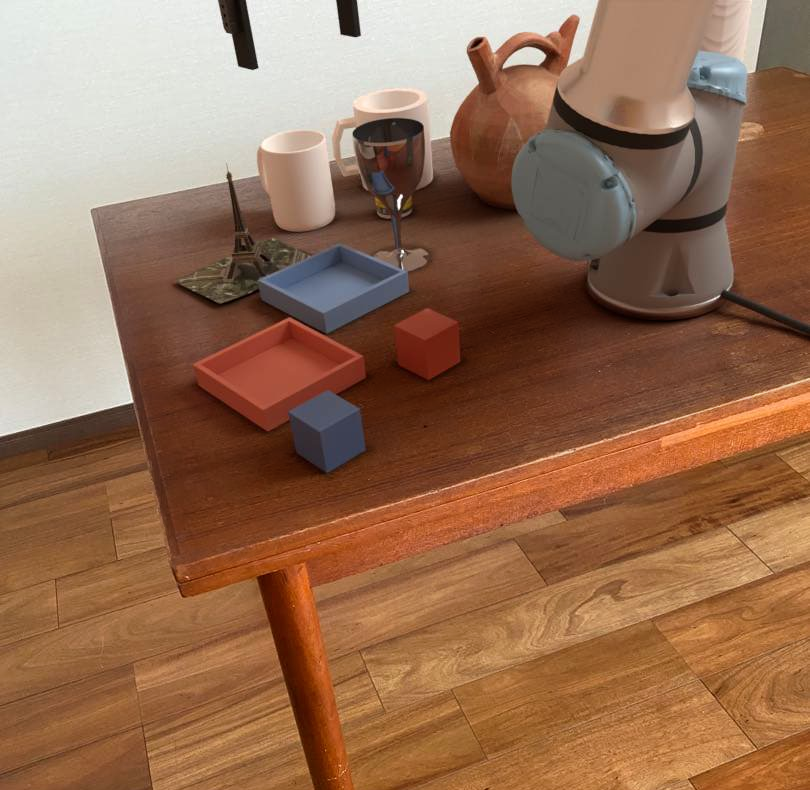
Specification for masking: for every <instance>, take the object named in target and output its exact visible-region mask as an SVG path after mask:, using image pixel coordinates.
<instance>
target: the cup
mask: <svg viewBox="0 0 810 790" xmlns="http://www.w3.org/2000/svg"><path fill="white" fill-rule="evenodd" d="M256 164H257V171H258V174H259V176H258V177H259V179H260V183H261V184H262V187H263V189H264V190H265V192H266V193H267V195H268V196H269V198H270V199H269V200H270V204H271V205H270V206H271V209H272V215H273V219H274V222H275V224H276V225H277V226H278V227H279V228H280V229H282V230H284V231H287V232H294V233H296V232H297V233H301V232H309V231H314V230H318V229H321V228H323V227H325V226H327V225H329V224H331V223H332V222H333V220H334V219H335V217H336V203H335V196H334V189H333V183H332V182H333V181H332V174H331V166H330V161H329V153H328V146H327V140H326V136H325V134H324V133H322V132H320V131H316V130H313V129H312V130H311V129H296V130H295V129H294V130H288V131H282V132H278V133H275V134H273V135H269V136H268V137H266V138H264V139H263V141H262V142H260V145H259V146H258V148H257V151H256Z"/></svg>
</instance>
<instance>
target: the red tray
mask: <svg viewBox="0 0 810 790" xmlns="http://www.w3.org/2000/svg"><path fill="white" fill-rule="evenodd" d="M365 366H366V365H365V359H364V355H362V354H360V353H358V352H356V351H355V350H353V349H351V348H349V347H347V346H345V345H343V344H342V343H339V342H337V341H336V340H333V339H332V338H330V337H328V336H327V335H324V334H322V333H320V331H317V330H315V329H313V328H311V327H309V326H307V325H305V324H303V323H301V321H298V320H297V319H293V317H287V318H284V319H283V320H281V321H279V322H277V323H274V324H273V325H270V326H269V327H268V326H267V327H266V328H264V329H262V330H260V331H258V332H255V333H254V334H252V335H250V336H248V337H246V338H244V339H242V340H240V341H238V342H236V343H234V344H231V345H230V346H227V347H226V348H223V349H221V350H219V351H217V352H214V353H213V354H211V355H209V356H207V357H205V358H202V359H200V360H199V361H197V362H195V363H193V364H192V367H193V371H194V374H195V377H196V381H197V384H198V385H197V386H199V387H201V389H203V390H205V391H206V392H208V393H209V394H210V395H212V396H214V397H215V398H217V399H218V400H219V401H221V402H222V403H224V404H226V405H227V406H228V407H230V408H231V409H233V410H234V411H236V412H237V413H239V414H240V415H242V416H243V417H245V418H246V419H248V420H249V421H251V422H252V423H253V424H255V425H257V426H258V427H260V429H263V430H264V431H266V432H268V433H269V432H270V431H272V430H274V429H276V428H278V427H279V426H281V425H283V424H284V423H287V422H289V421H290V419H289V415H288V411H290V410H292V409H294V408H296V407H298V406H299V405H301V404H303V403H305V402H307V401H309V400H310V399H312V398H314V397H316V396H318V395H320V394H321V393H323V392H325V391H327V390H329V391H330V392H332V393H334V394H335V395H337V394H340V393H341V392H343V391H345V390H347V389H348V388H351V386H353V385H355V384H358V383H359V382H361V381H363V380H364V379H365V380H366V378H367V374H366V367H365Z"/></svg>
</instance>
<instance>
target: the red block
mask: <svg viewBox="0 0 810 790" xmlns="http://www.w3.org/2000/svg"><path fill="white" fill-rule="evenodd" d="M393 328H394V329H393V330H394V338H395V345H396V346H395V349H396V357H397V365H398V366H400V367H402V368H404V369H406V370H407V371H410V373H413V374H415V375H417V376H418V377H421V378H423V379H425V380H427V381H430V380H431V379H433V378H435V377H437V376H439V375H440V374H442V373H444V372H445V371H447V370H449V369H451V368H452V367H454V366H456V365H458V364H459V363H461V346H460V324H459V321H457V320H455V319H453V318H451V317H449V316H446V315H444V314H441V313H439V312H437V311H435V310H434V309H433V310H432V309H431V308H428V307H426V308H424V309H422V310H421V311H419V312H416V313H415V314H413V315H411V316H409V317H406V318H405V319H404V320H402V321H400V322H398V323H396V324H394V326H393Z"/></svg>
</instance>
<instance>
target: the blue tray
mask: <svg viewBox="0 0 810 790" xmlns="http://www.w3.org/2000/svg"><path fill="white" fill-rule="evenodd" d="M309 256H310V257H308V258H305V259H303V260H301V261H299V262H297V263H294V264H292V265H290V266H288V267H286V268H283V269H281V270H279V271H277V272H275V273H272V274H270V275H268V276H266V277H263V278H261V279H259V280H258V285H259V289H258V290H259V294H260V299H261V301H262V302H264V303H267V304H268V305H270V306H272V307H274V308H276V309H278V310H280V311H282V312H283V313H286V314H288V315H289V316H292V318H295V319H296V320H299V321H300V322H303V323H305V324H307V325H309V326H311V327H312V328H314V329H317V330H318V331H319V332H322V333H324V334H326V335H327V334H329V333H331V332H333V331H335V330H337V329H339V328H341V327H343V326H345V325H346V324H349V323H351V322H352V321H355V320H357V319H358V318H361V317H363V316H364V315H367V314H368V313H371V312H372V311H375V310H377V309H378V308H380V307H382V306H384V305H385V304H388V303H390V302H392V301H394V300H396V299H399V298H400V297H402V296H404V295H406V294H408V293H410V285H409V284H410V283H409V273H408V272H409V271H408V272H407V271H405V270H403V269H400V268H398V267H395V266H393V265H391V264H388V263H386V262H384V261H381V260H379V259H376V258H374V257H373V255H370V254H367V253H365V252H362V251H360V250H358V249H356V248H353V247H350V246H348V245H346V244H343V243H341V242H339V243H337V244H333V245H331V246H330V247H328V248H325V249H323V250H320V251H319V252H316V253H314V254H312V255H309Z"/></svg>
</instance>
